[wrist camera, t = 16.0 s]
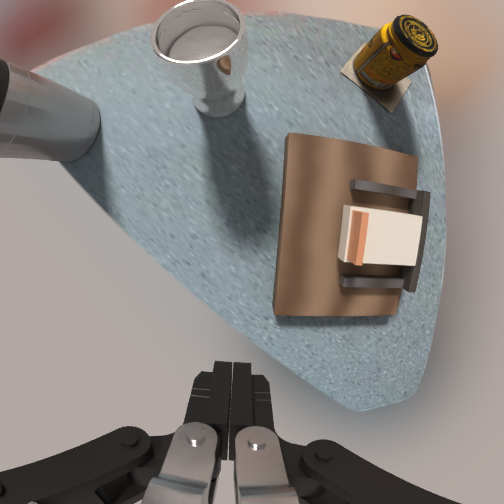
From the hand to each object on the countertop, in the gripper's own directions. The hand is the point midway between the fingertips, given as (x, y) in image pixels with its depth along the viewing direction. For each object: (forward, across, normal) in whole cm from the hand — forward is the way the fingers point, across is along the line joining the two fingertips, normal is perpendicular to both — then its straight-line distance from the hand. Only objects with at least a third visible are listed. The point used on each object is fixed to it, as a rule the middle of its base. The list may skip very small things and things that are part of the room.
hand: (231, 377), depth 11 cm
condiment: (+22, -16, -25) cm, 37 cm away
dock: (+22, -12, -4) cm, 25 cm away
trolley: (+19, -15, -4) cm, 24 cm away
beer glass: (+22, +4, -19) cm, 29 cm away
